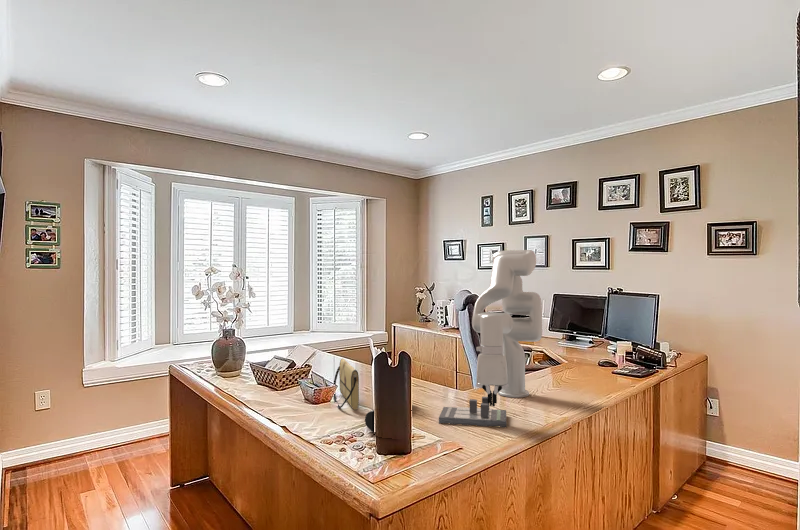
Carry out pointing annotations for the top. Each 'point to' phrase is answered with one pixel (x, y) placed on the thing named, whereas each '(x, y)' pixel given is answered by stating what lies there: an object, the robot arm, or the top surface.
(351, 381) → the clutch purse
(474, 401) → the handle
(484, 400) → the handle
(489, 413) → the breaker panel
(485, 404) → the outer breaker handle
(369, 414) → the end cap
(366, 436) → the top surface
